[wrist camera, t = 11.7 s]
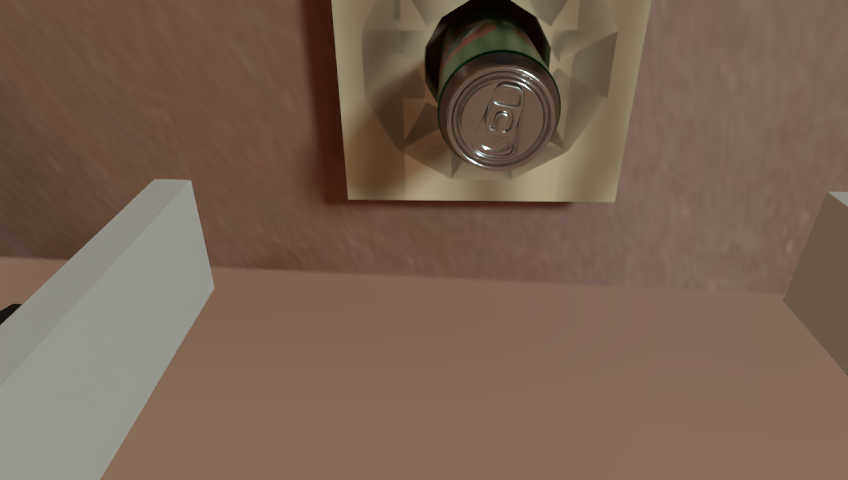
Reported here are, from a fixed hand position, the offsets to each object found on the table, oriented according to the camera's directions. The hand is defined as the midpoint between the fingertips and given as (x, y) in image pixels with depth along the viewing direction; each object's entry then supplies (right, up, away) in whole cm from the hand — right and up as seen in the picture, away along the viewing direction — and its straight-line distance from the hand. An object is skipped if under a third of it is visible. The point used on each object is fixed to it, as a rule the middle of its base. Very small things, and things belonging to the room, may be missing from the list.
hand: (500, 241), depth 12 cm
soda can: (+2, +11, +21) cm, 23 cm away
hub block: (+2, +11, +20) cm, 23 cm away
